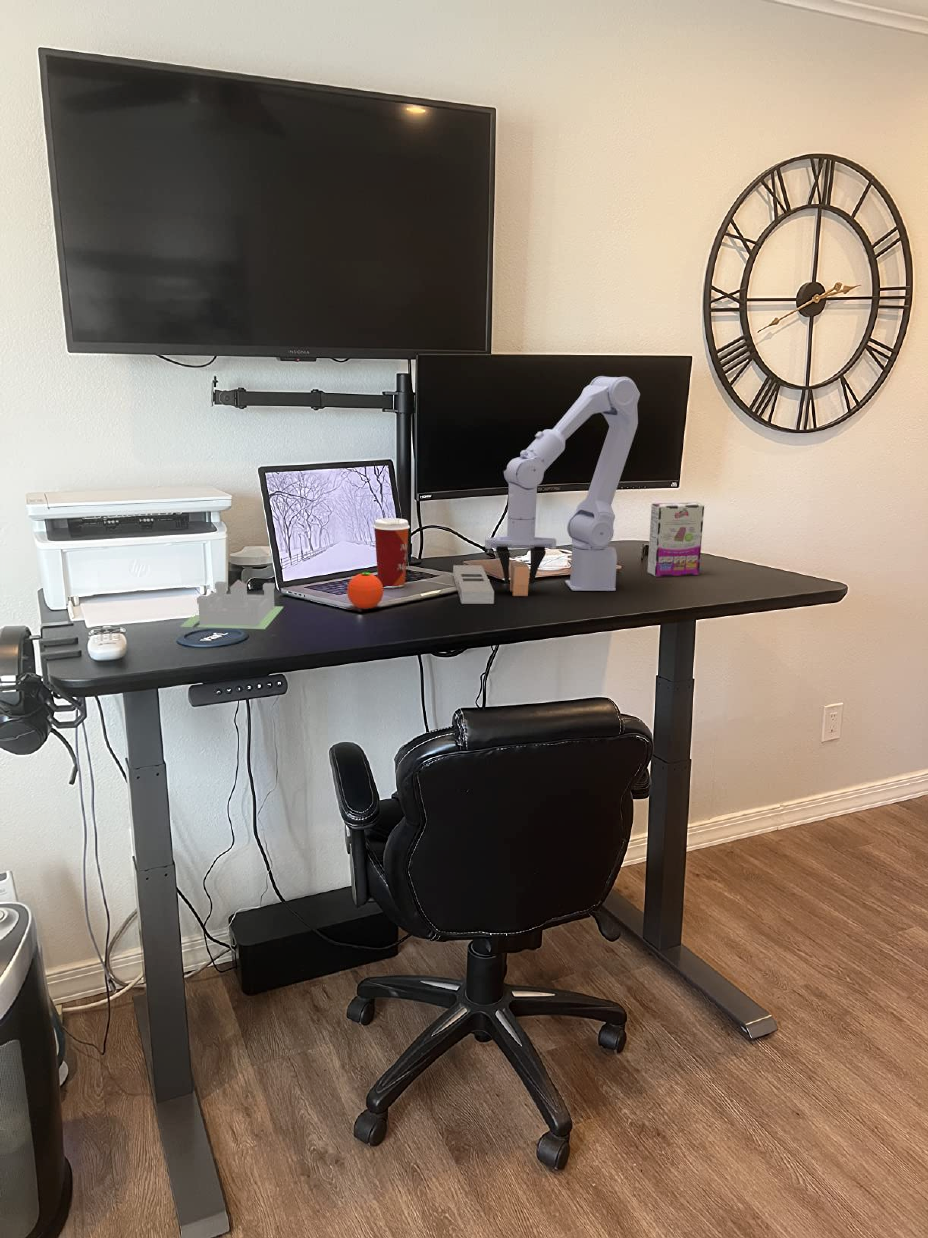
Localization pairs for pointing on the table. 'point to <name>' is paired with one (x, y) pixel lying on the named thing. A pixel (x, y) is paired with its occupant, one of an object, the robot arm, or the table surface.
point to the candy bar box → (675, 539)
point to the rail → (473, 584)
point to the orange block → (519, 578)
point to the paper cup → (391, 550)
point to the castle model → (235, 608)
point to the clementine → (365, 590)
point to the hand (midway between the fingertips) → (519, 582)
